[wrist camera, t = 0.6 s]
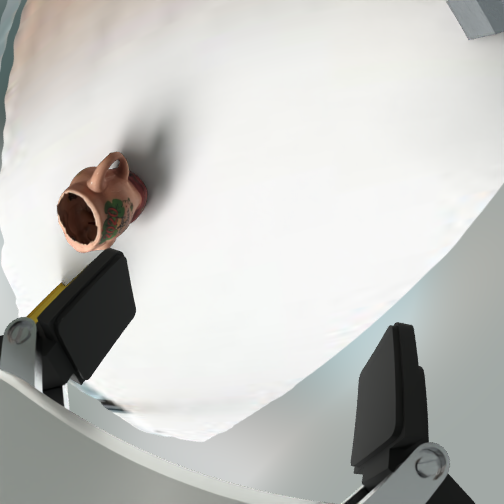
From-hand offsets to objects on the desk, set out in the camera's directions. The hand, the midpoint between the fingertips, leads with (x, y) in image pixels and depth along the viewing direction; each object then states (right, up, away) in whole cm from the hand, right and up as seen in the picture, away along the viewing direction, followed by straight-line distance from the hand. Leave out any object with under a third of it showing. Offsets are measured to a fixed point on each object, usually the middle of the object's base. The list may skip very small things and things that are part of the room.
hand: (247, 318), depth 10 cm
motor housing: (+33, +35, +10) cm, 49 cm away
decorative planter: (-22, +14, +41) cm, 49 cm away
